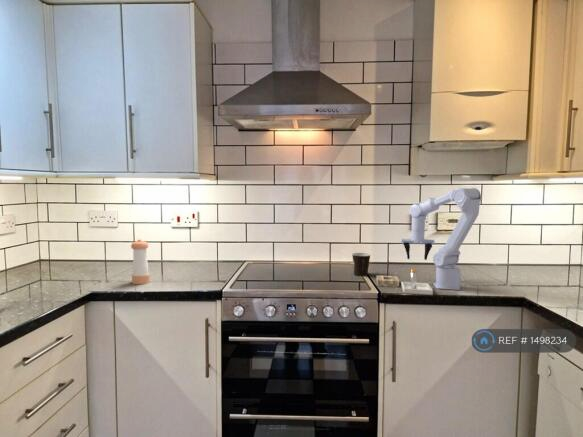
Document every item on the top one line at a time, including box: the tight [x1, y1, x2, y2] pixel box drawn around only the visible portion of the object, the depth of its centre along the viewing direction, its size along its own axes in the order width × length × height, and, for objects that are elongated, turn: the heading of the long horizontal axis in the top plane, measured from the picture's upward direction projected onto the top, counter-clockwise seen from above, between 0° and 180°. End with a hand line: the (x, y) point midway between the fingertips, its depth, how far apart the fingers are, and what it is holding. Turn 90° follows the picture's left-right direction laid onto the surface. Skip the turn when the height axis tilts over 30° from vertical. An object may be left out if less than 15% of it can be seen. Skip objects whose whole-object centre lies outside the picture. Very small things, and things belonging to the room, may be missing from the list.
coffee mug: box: [352, 252, 371, 277], centre depth 180 cm, size 12×9×10 cm
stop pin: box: [410, 269, 418, 289], centre depth 155 cm, size 2×2×8 cm
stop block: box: [376, 274, 400, 288], centre depth 165 cm, size 9×9×2 cm
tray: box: [400, 281, 434, 296], centre depth 155 cm, size 11×11×2 cm
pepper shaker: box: [130, 238, 151, 285], centre depth 164 cm, size 7×7×19 cm
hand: (416, 259), depth 173 cm, fingers open, 7 cm apart
